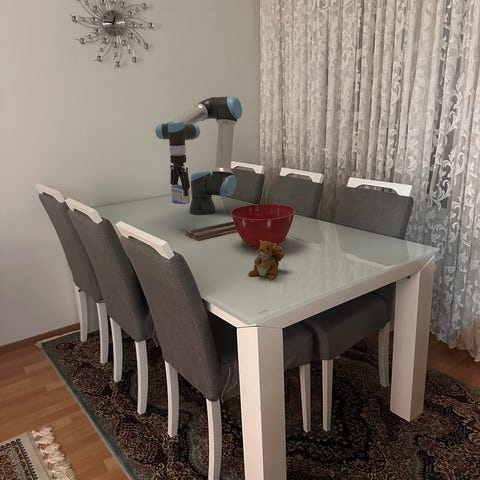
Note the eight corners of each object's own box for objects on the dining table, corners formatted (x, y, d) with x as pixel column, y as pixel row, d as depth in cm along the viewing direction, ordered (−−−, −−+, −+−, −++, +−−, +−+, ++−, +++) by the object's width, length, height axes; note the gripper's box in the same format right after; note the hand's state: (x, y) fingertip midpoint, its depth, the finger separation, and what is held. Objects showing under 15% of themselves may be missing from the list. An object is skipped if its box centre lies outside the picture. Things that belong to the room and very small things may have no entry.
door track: (185, 235, 219) (184, 230, 219) (235, 224, 236) (235, 219, 235) (198, 241, 210) (197, 235, 209) (249, 229, 227) (249, 224, 226)
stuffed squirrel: (246, 276, 167) (245, 242, 163) (266, 265, 178) (266, 232, 174) (269, 282, 161) (269, 246, 157) (288, 269, 172) (289, 236, 168)
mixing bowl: (241, 257, 187) (240, 221, 182) (224, 238, 213) (223, 206, 208) (305, 250, 194) (305, 215, 189) (281, 232, 220) (281, 201, 215)
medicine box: (171, 203, 223) (170, 185, 220) (177, 201, 226) (176, 184, 224) (184, 204, 219) (183, 186, 216) (190, 202, 223) (189, 185, 220)
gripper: (161, 153, 222) (164, 198, 229) (181, 157, 205) (184, 205, 212) (174, 151, 226) (177, 196, 233) (195, 155, 209) (198, 203, 216)
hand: (181, 200), depth 222 cm, fingers closed on medicine box, 9 cm apart
